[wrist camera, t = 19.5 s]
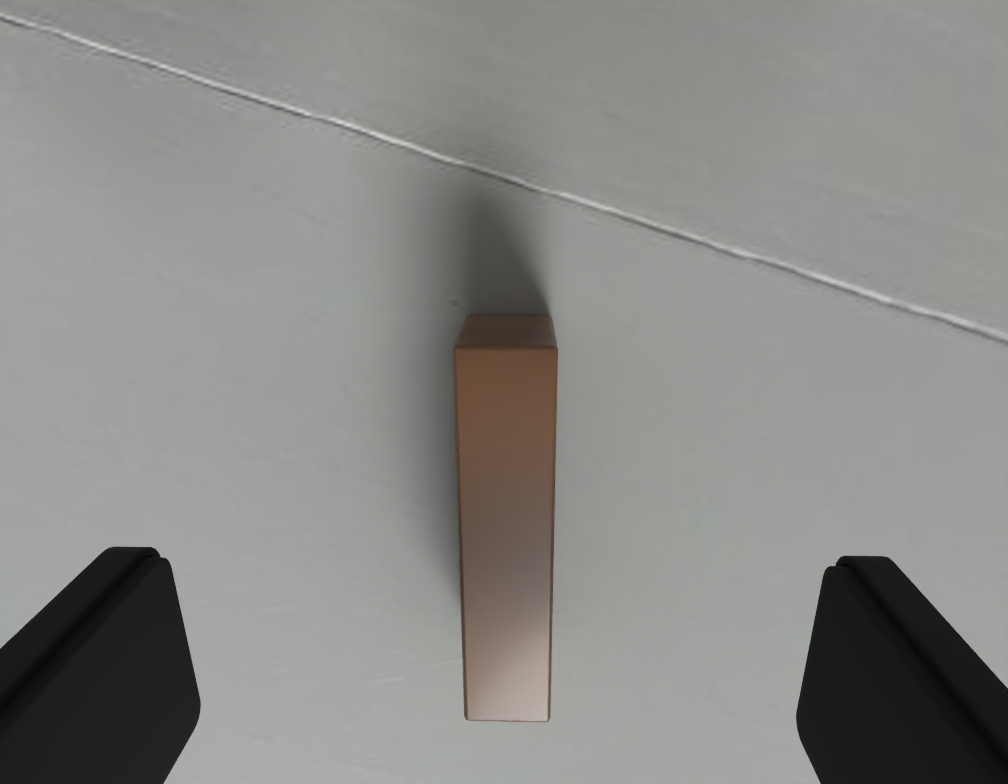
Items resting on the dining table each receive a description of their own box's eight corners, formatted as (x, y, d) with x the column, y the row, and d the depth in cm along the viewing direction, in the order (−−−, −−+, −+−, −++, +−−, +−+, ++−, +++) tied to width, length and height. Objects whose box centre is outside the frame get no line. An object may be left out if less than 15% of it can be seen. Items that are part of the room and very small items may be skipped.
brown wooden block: (465, 314, 15) (452, 345, 12) (552, 314, 15) (558, 346, 12) (473, 635, 18) (463, 722, 15) (546, 637, 18) (550, 723, 15)
